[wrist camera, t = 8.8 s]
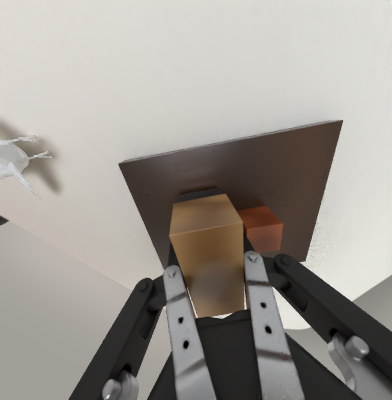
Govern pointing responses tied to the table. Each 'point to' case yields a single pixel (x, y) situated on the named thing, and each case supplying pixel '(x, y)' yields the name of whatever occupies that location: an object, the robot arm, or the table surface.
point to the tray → (241, 181)
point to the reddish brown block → (261, 228)
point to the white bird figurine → (16, 160)
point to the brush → (209, 251)
